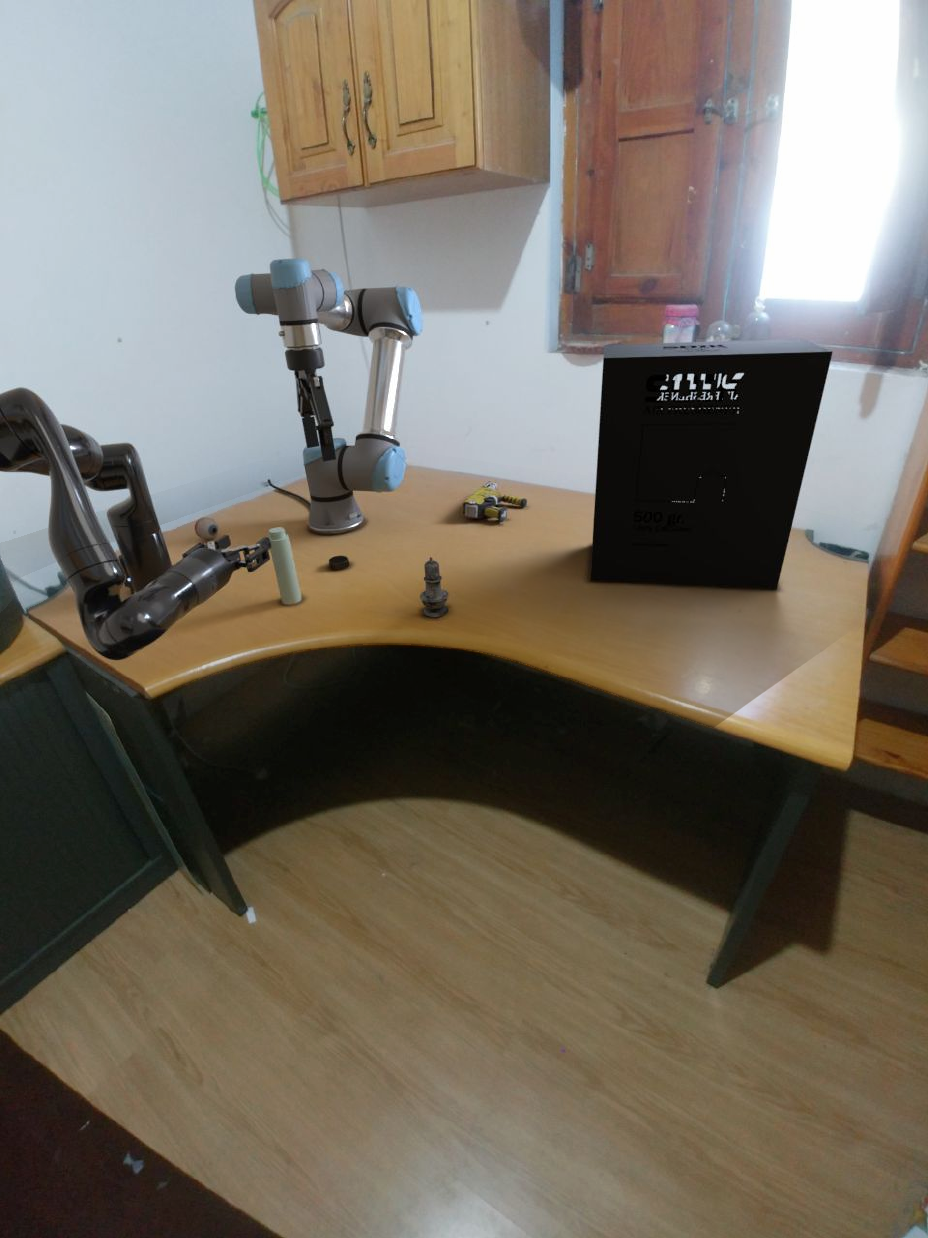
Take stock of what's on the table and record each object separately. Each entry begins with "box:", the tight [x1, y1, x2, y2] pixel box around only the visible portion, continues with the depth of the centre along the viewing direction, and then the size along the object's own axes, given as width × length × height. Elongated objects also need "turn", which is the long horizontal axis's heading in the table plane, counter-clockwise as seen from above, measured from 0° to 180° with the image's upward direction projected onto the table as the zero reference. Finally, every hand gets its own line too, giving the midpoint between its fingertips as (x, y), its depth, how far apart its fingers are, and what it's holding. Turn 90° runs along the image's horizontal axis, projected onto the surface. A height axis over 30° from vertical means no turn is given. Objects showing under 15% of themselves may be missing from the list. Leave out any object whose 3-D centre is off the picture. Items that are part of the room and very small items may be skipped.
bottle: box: [268, 526, 302, 606], centre depth 127 cm, size 4×4×16 cm
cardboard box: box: [589, 338, 834, 590], centre depth 125 cm, size 38×20×45 cm, turn 78°
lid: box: [328, 555, 350, 571], centre depth 145 cm, size 5×5×2 cm
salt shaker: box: [419, 556, 450, 618], centre depth 120 cm, size 6×6×12 cm
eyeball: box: [194, 516, 220, 541], centre depth 163 cm, size 6×6×6 cm
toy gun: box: [461, 480, 528, 523], centre depth 173 cm, size 5×24×15 cm
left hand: (248, 540), depth 114 cm, fingers open, 8 cm apart
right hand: (321, 453), depth 132 cm, fingers open, 13 cm apart
